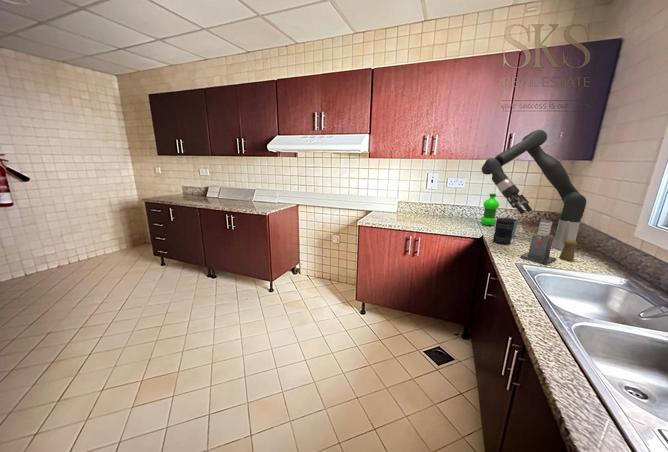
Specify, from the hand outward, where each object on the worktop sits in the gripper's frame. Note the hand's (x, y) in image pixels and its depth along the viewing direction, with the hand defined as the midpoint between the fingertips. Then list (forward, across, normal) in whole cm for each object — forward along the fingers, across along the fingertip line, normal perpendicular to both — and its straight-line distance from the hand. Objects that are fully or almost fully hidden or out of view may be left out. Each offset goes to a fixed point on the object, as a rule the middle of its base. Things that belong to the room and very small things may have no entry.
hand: (526, 212), depth 141 cm
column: (+22, 0, -9) cm, 24 cm away
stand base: (+24, 0, -11) cm, 26 cm away
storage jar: (+7, -13, -28) cm, 32 cm away
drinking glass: (+4, -31, -32) cm, 45 cm away
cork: (+30, -13, -5) cm, 33 cm away
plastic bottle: (-12, -50, -48) cm, 70 cm away
